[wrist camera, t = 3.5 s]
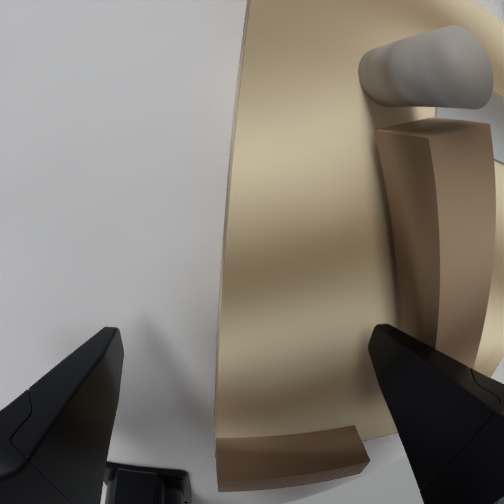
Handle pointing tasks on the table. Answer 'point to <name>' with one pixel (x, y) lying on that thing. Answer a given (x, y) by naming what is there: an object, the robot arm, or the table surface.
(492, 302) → the board
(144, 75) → the table surface
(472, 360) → the folding leg
